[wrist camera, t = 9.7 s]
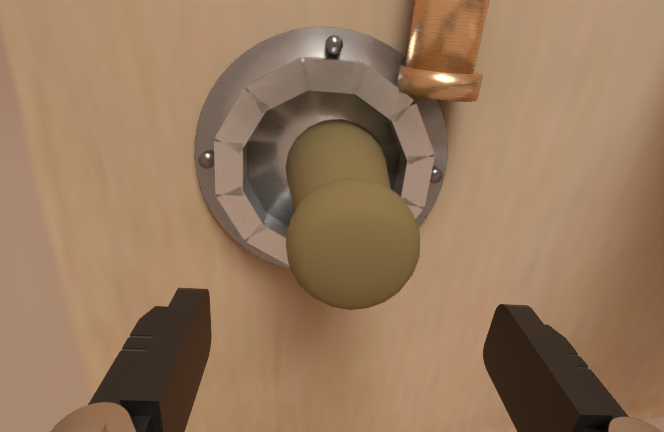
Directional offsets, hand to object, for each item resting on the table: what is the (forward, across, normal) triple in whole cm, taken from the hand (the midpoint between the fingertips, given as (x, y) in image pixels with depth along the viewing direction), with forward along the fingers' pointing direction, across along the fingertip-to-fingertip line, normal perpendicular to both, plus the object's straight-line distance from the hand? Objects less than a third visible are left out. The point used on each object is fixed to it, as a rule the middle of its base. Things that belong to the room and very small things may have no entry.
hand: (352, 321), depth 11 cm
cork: (+14, 0, 0) cm, 14 cm away
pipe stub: (+15, -5, -9) cm, 18 cm away
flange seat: (+15, 0, 0) cm, 15 cm away
